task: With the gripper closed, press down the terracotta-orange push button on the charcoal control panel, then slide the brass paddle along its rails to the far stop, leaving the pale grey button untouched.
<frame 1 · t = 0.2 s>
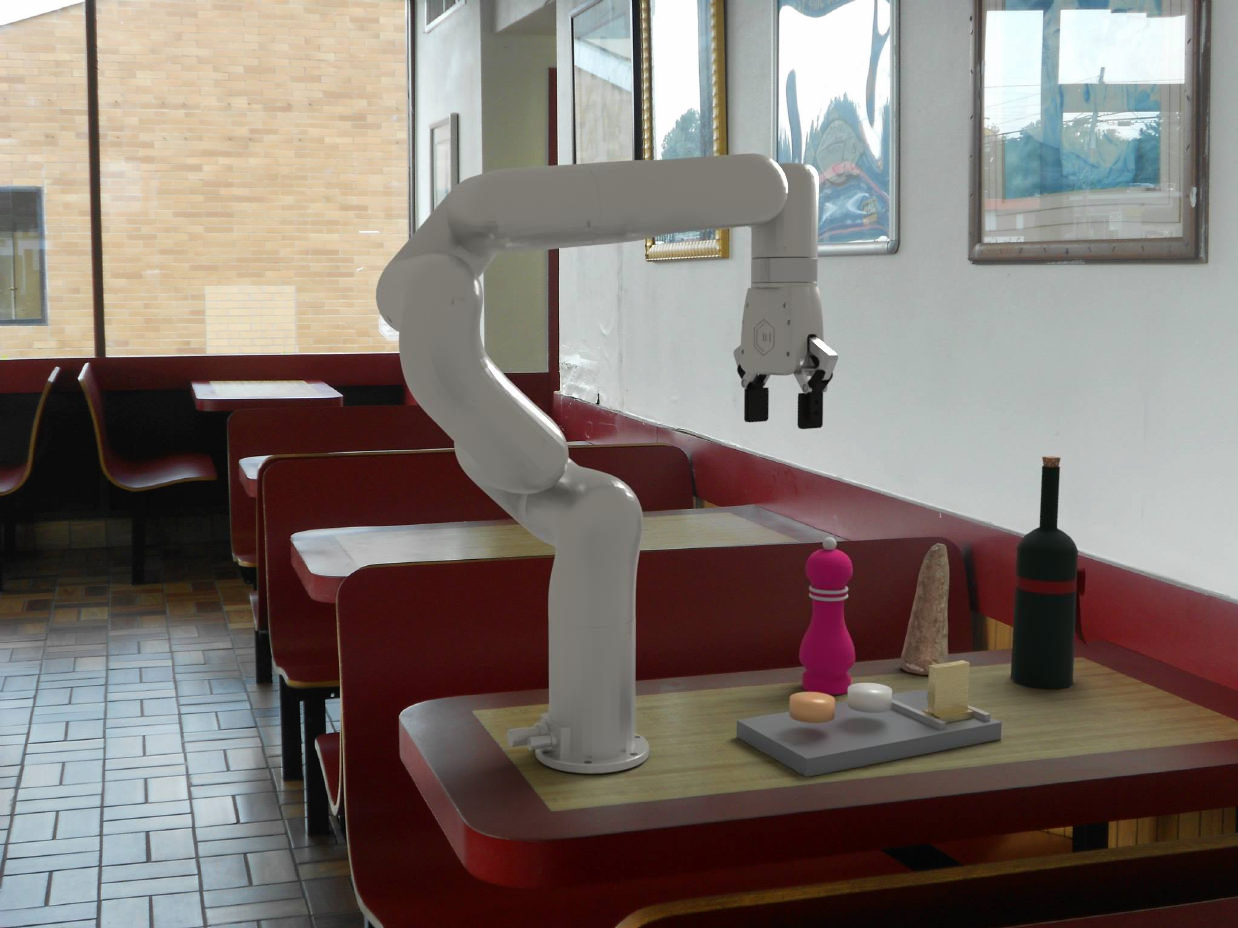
hand: (782, 424, 146), 36 cm above the table, tool pointing down, fingers open, 9 cm apart
orange button: (812, 707, 142), point 5 cm above the table, slide at 0.0 cm
brass paddle: (948, 690, 146), point 5 cm above the table, slide at 0.0 cm
wine bottle: (1049, 681, 169), on the table
control panel: (868, 737, 146), on the table
pepper mill: (826, 689, 165), on the table
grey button: (869, 697, 145), point 5 cm above the table, slide at 0.0 cm
brown tapered piece: (923, 671, 173), on the table
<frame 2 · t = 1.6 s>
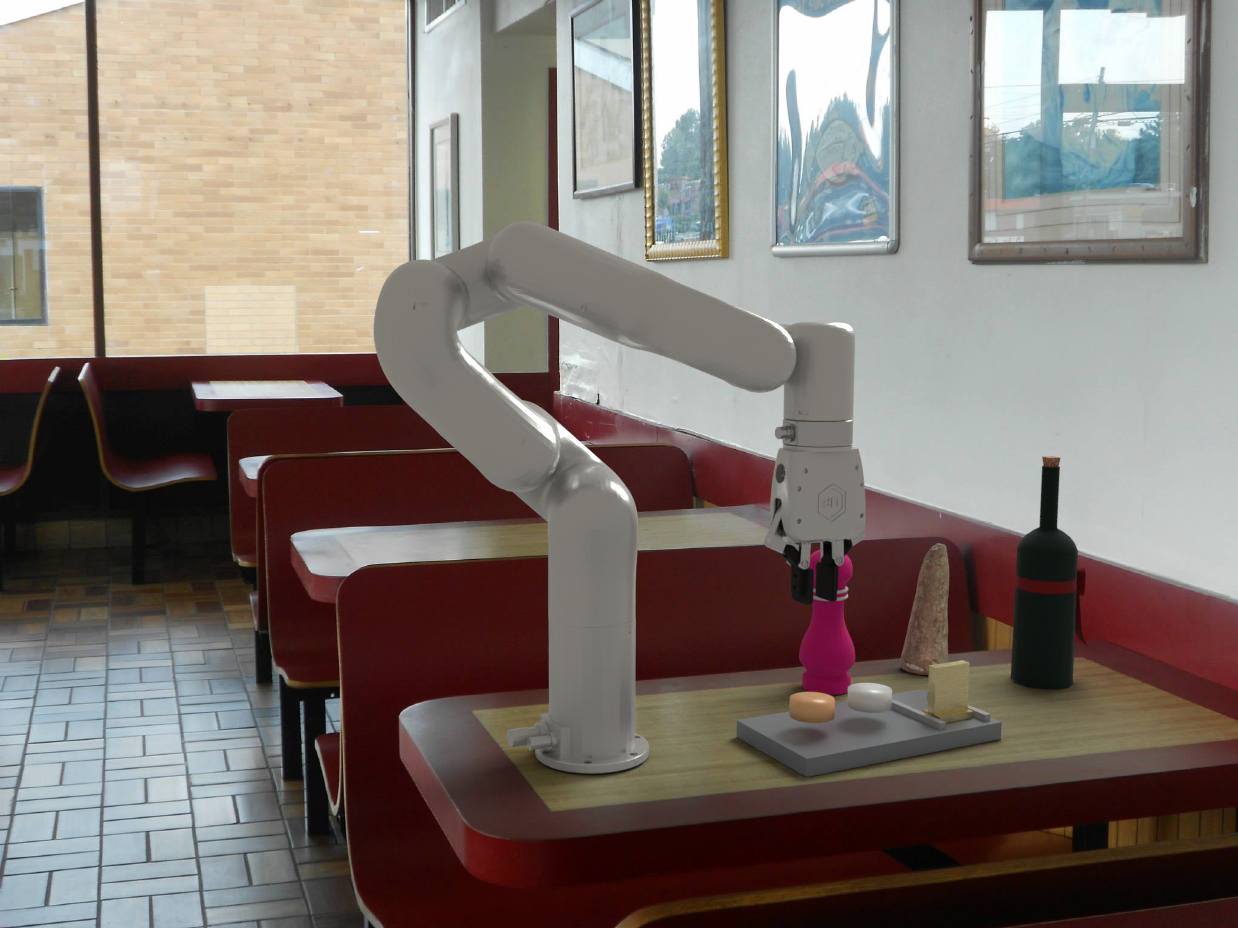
hand: (814, 599, 140), 17 cm above the table, tool pointing down, fingers closed
nothing on the table moved.
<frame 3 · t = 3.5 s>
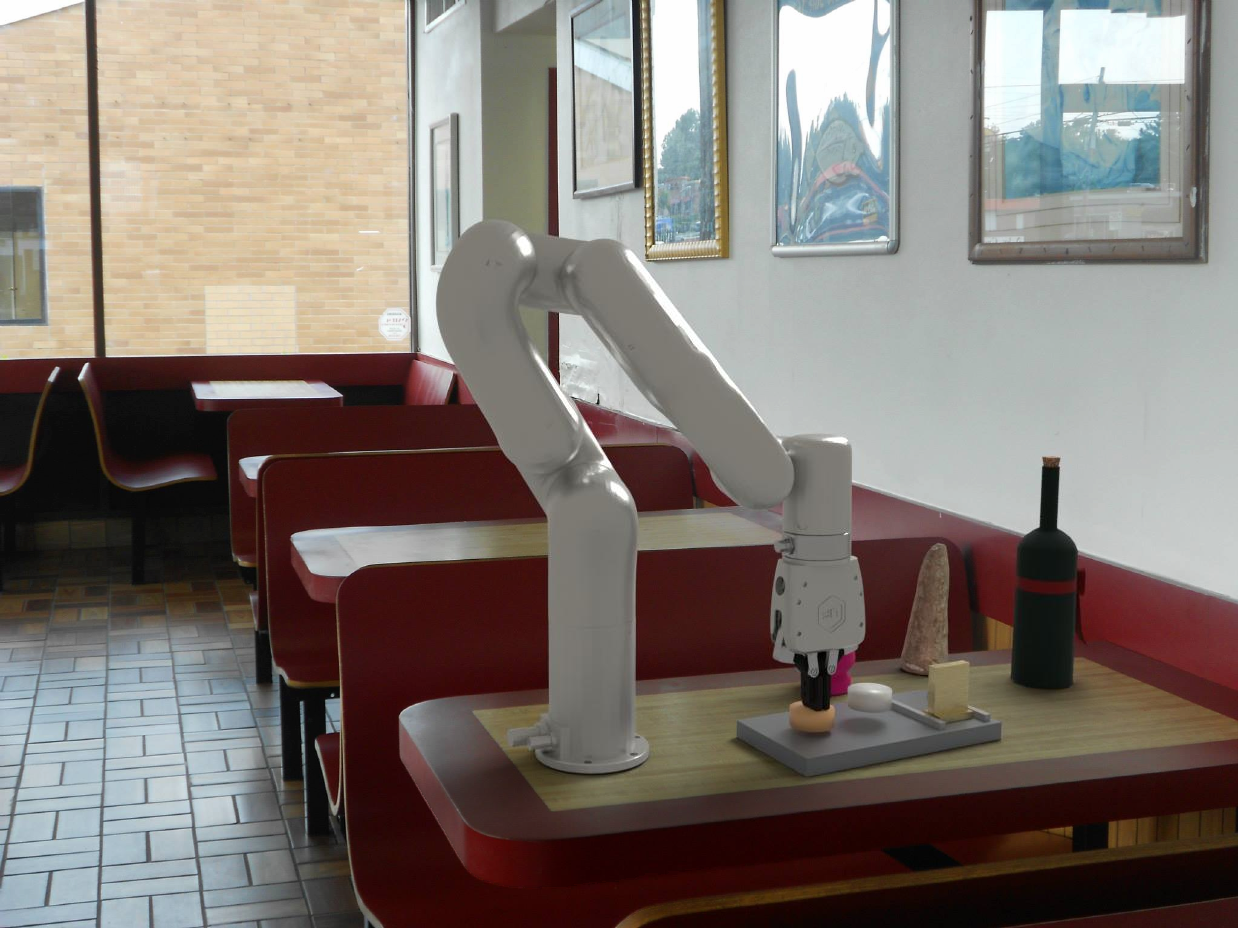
hand: (815, 706, 142), 5 cm above the table, tool pointing down, fingers closed
orange button: (811, 716, 142), point 4 cm above the table, slide at 1.0 cm, touching gripper
everything else where it was.
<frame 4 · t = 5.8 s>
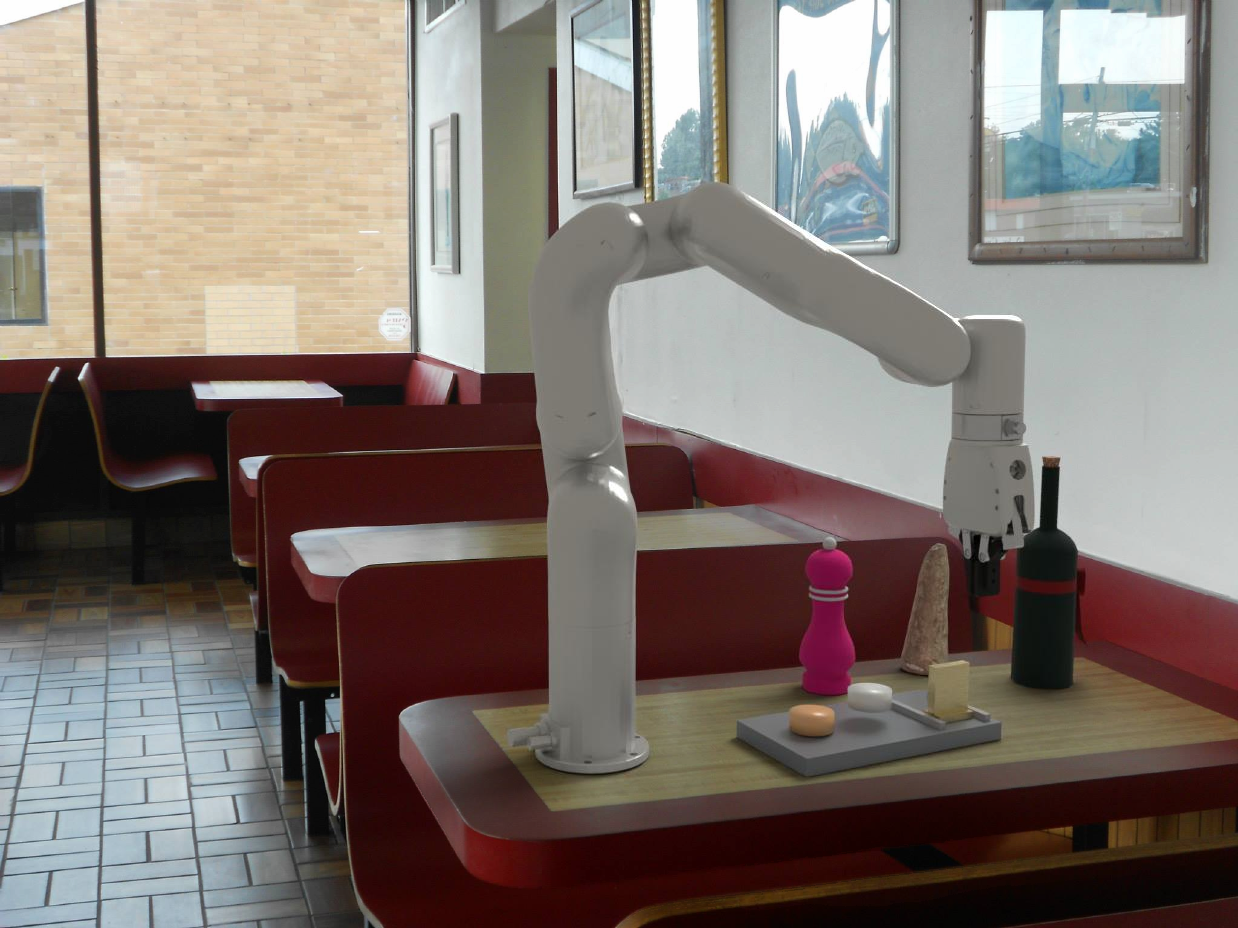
hand: (983, 594, 139), 18 cm above the table, tool pointing down, fingers closed
orange button: (811, 720, 142), point 3 cm above the table, slide at 1.5 cm
everything else where it was.
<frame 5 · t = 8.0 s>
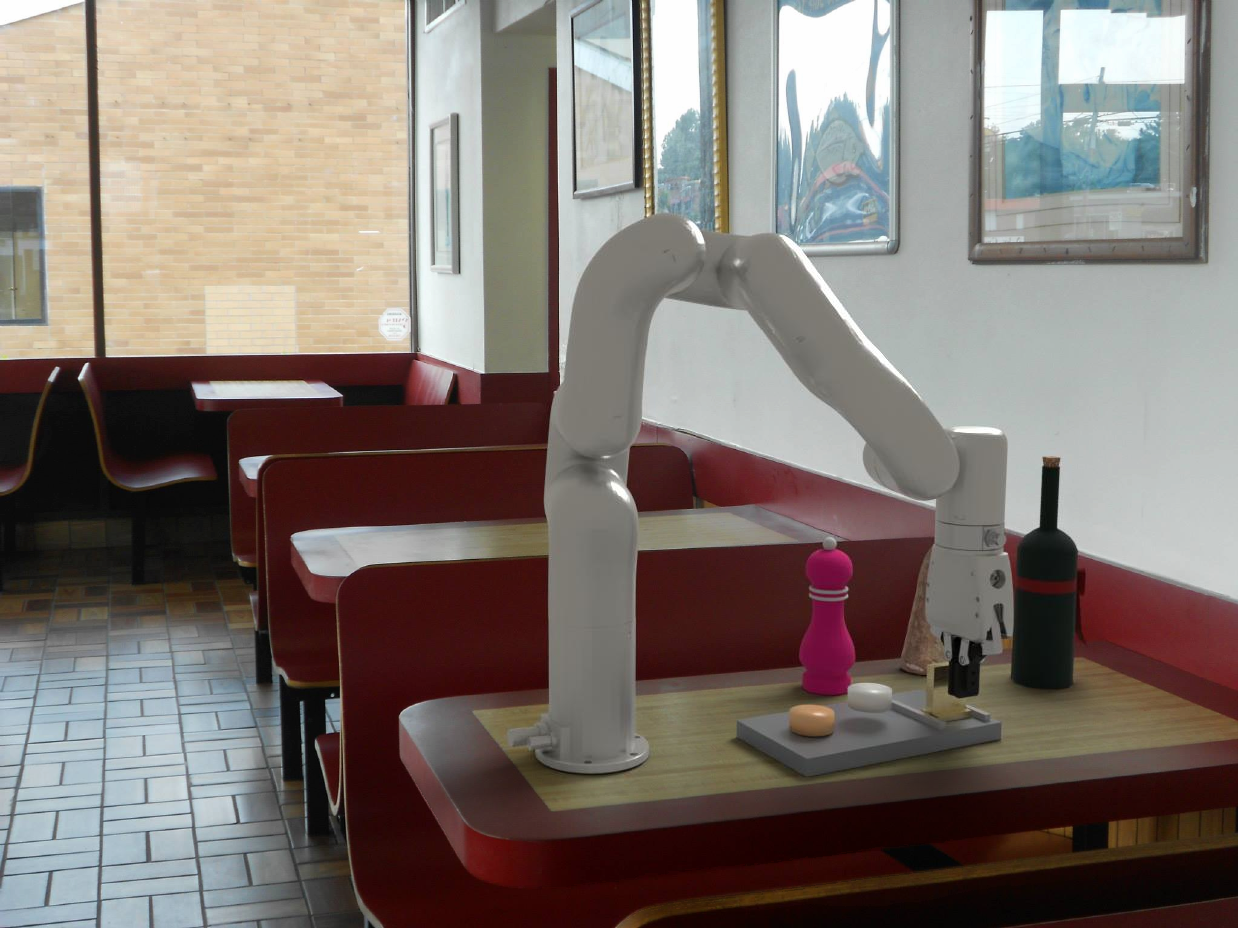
hand: (963, 694, 144), 5 cm above the table, tool pointing down, fingers closed
brass paddle: (946, 689, 147), point 5 cm above the table, slide at 0.3 cm, touching gripper
everything else where it was.
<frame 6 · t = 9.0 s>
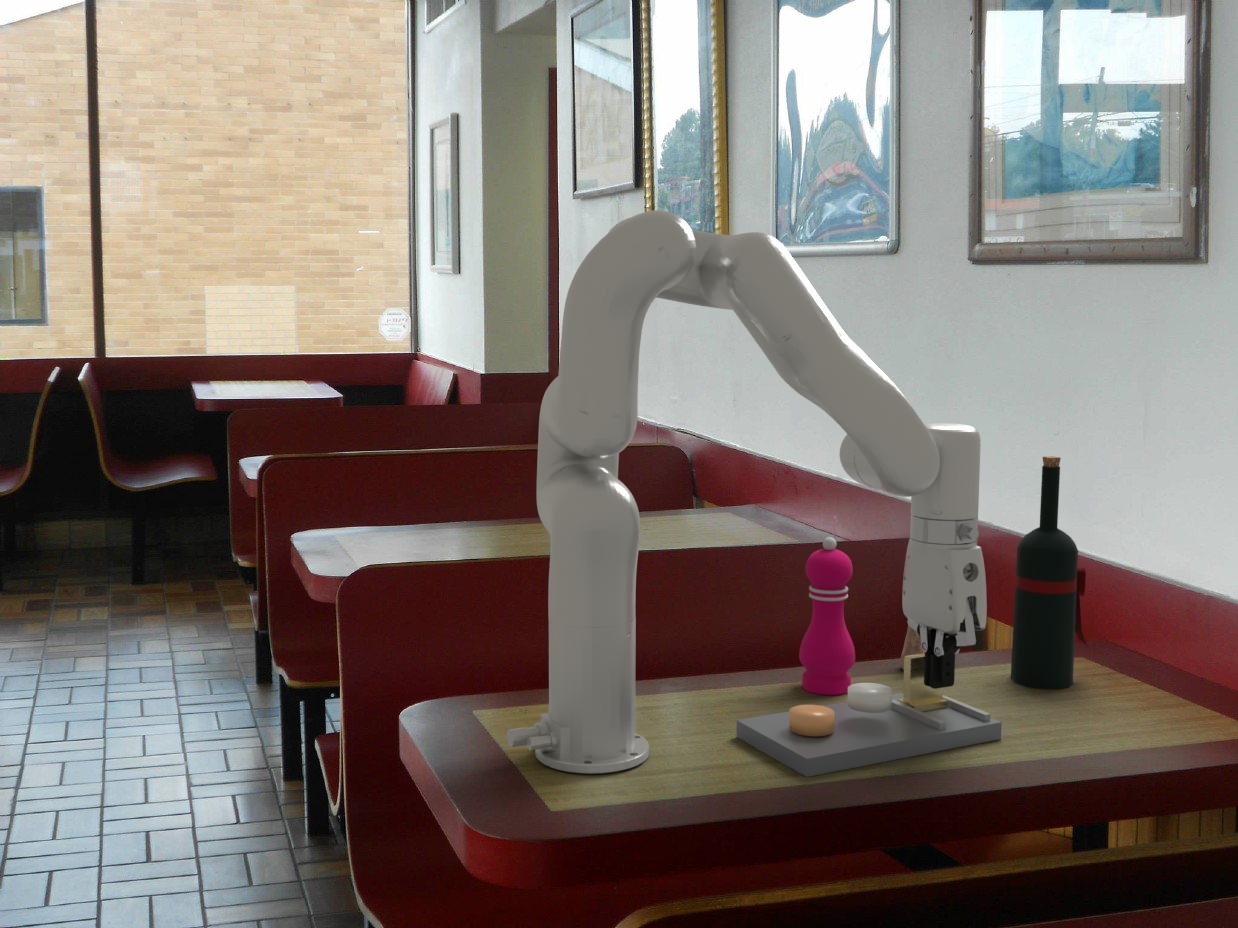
hand: (938, 685, 148), 5 cm above the table, tool pointing down, fingers closed
brass paddle: (923, 680, 150), point 5 cm above the table, slide at 4.4 cm, touching gripper
everything else where it was.
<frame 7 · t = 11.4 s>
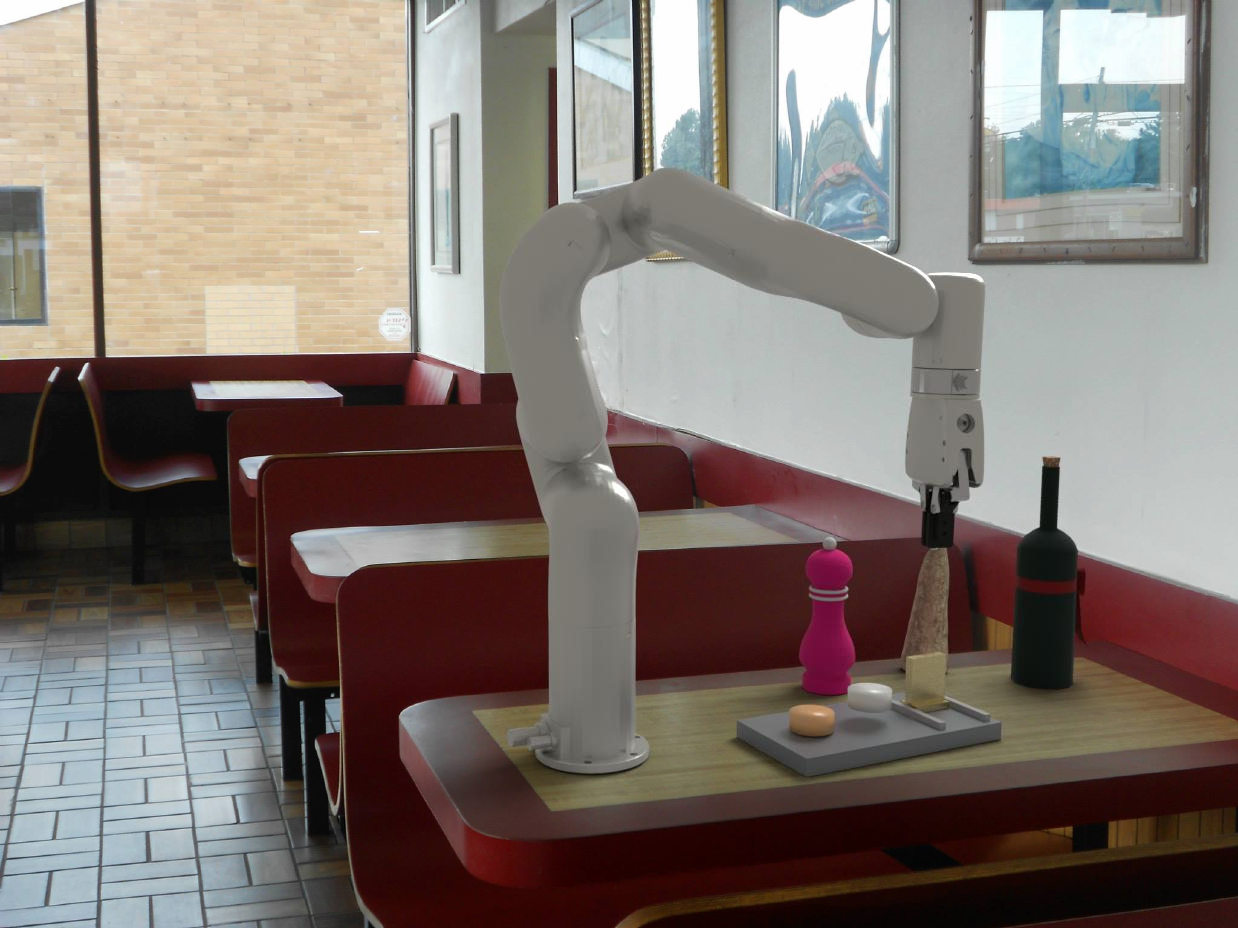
hand: (936, 546, 143), 22 cm above the table, tool pointing down, fingers closed
brass paddle: (925, 681, 150), point 5 cm above the table, slide at 4.1 cm
everything else where it was.
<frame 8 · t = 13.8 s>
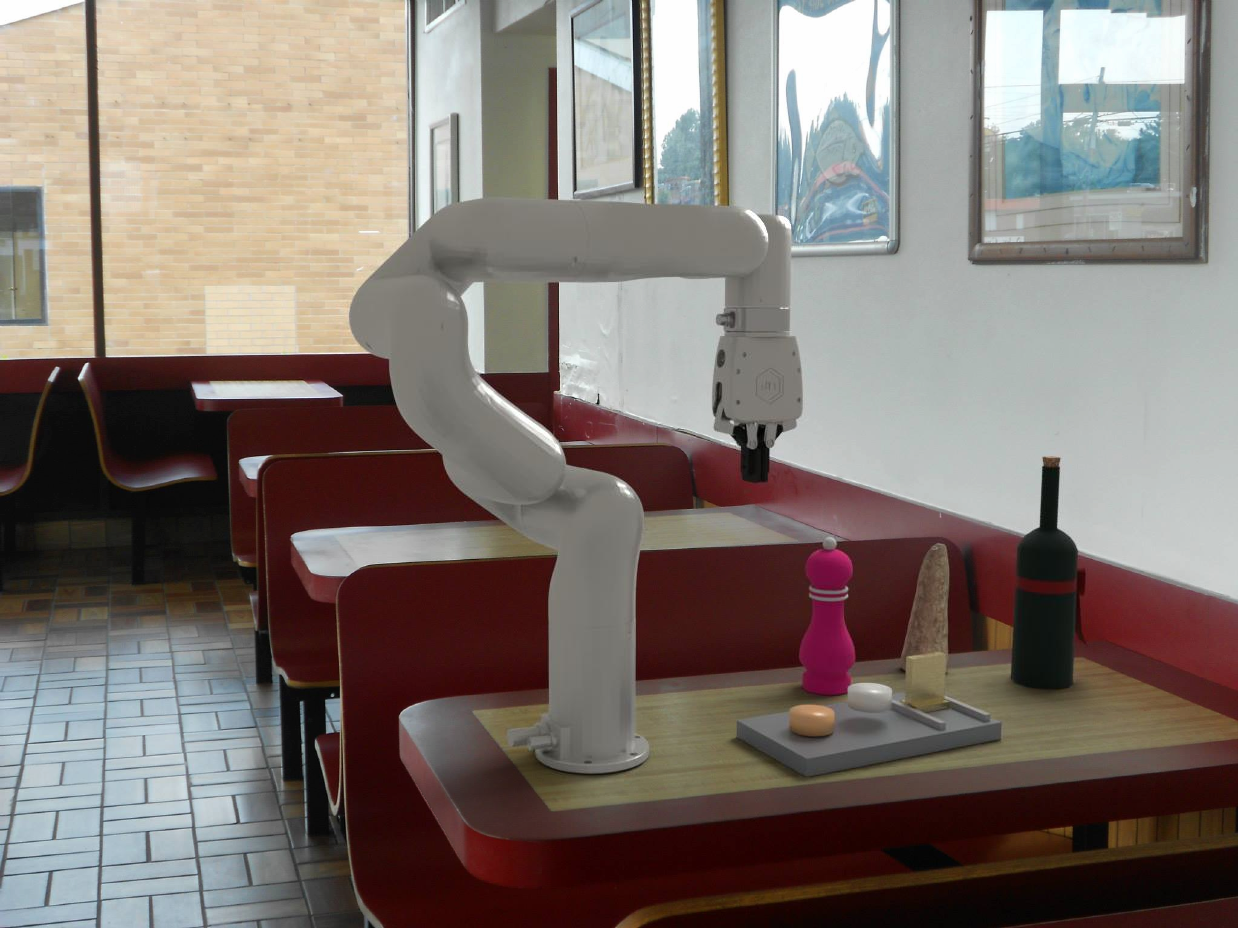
hand: (754, 481, 148), 29 cm above the table, tool pointing down, fingers closed
nothing on the table moved.
at the end: orange button slide at 1.5 cm; brass paddle slide at 4.1 cm; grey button slide at 0.0 cm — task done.
